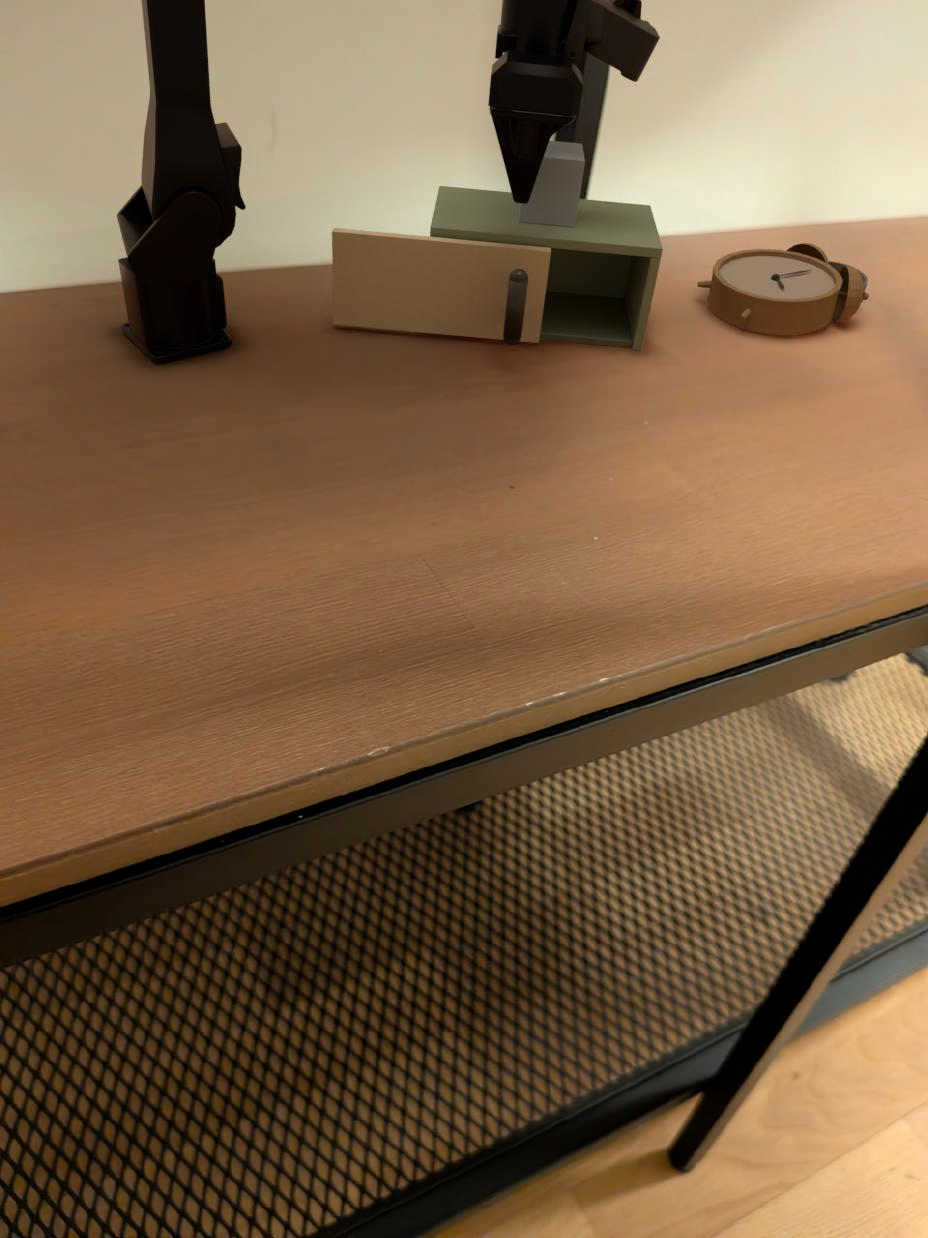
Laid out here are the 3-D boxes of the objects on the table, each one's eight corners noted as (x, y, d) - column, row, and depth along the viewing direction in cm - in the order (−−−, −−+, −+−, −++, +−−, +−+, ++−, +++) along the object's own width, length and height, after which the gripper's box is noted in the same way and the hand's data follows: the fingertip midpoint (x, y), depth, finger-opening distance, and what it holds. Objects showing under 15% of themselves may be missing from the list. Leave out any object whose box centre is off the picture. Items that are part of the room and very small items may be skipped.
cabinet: (425, 331, 79) (430, 226, 73) (433, 283, 86) (439, 185, 81) (641, 351, 79) (663, 248, 74) (631, 301, 87) (650, 204, 81)
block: (575, 227, 76) (585, 160, 72) (518, 222, 75) (525, 154, 72) (573, 208, 79) (582, 143, 76) (518, 203, 79) (525, 137, 76)
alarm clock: (686, 259, 87) (826, 220, 90) (682, 310, 91) (817, 271, 94) (756, 311, 80) (907, 266, 83) (749, 364, 83) (894, 319, 86)
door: (323, 351, 74) (321, 254, 69) (334, 320, 78) (333, 226, 73) (539, 371, 74) (552, 275, 69) (538, 338, 79) (550, 246, 74)
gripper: (681, -22, 59) (631, 235, 69) (652, -59, 73) (614, 159, 83) (501, -41, 59) (477, 219, 69) (507, -74, 73) (487, 146, 83)
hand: (521, 183), depth 76 cm, fingers open, 9 cm apart
